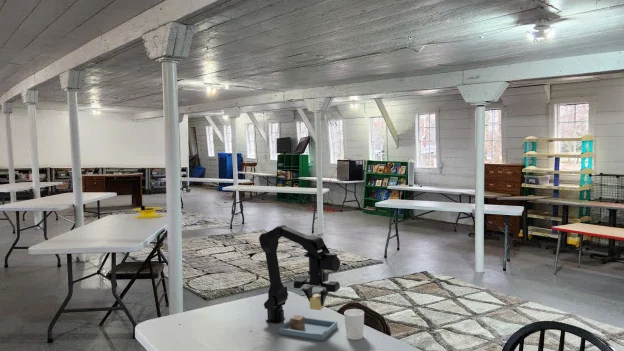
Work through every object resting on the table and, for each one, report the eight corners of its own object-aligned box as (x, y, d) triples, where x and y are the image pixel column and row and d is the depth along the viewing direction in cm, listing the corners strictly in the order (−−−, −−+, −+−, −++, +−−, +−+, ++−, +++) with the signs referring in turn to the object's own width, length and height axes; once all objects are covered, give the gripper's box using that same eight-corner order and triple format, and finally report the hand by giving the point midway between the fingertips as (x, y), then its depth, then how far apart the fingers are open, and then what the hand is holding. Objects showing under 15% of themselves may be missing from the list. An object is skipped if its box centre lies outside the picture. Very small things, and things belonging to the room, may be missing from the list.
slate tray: (278, 334, 192) (278, 328, 192) (295, 321, 206) (295, 315, 205) (322, 341, 183) (322, 335, 183) (337, 327, 197) (337, 321, 197)
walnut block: (290, 329, 196) (289, 318, 195) (295, 325, 200) (294, 314, 199) (299, 330, 194) (299, 320, 193) (304, 326, 198) (304, 316, 197)
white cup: (363, 341, 182) (363, 316, 182) (343, 340, 184) (342, 315, 183) (365, 333, 190) (364, 309, 190) (346, 332, 192) (345, 308, 191)
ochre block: (310, 308, 192) (309, 298, 192) (314, 305, 196) (314, 294, 196) (320, 310, 190) (319, 299, 190) (324, 306, 194) (324, 296, 194)
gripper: (344, 265, 196) (345, 301, 197) (303, 261, 203) (305, 296, 204) (334, 271, 186) (335, 310, 187) (292, 268, 193) (293, 305, 194)
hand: (317, 305), depth 193 cm, fingers closed on ochre block, 4 cm apart
